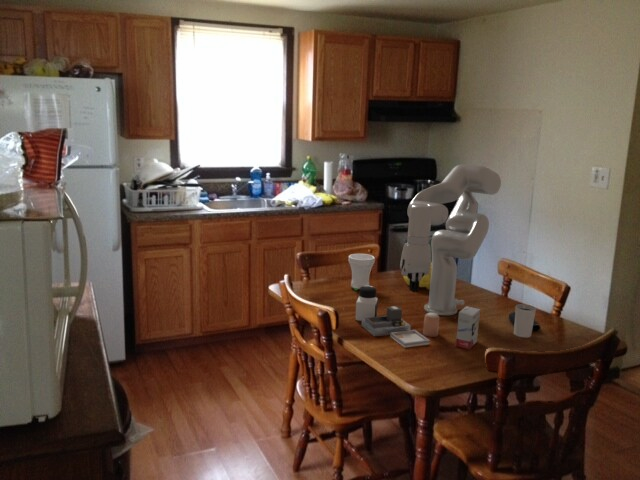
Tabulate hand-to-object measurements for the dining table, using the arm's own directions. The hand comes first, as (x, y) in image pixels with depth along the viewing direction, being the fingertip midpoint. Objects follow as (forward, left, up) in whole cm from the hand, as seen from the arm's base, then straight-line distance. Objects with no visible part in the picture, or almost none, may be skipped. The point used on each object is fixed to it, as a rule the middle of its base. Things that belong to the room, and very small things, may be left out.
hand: (413, 291), depth 204 cm
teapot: (-28, -40, -14) cm, 51 cm away
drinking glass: (-35, +18, -13) cm, 41 cm away
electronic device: (-42, +9, -14) cm, 45 cm away
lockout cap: (-3, +8, -13) cm, 16 cm away
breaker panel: (+10, 0, -13) cm, 17 cm away
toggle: (+7, 0, -10) cm, 13 cm away
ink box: (-10, +19, -14) cm, 25 cm away
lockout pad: (+7, +11, -13) cm, 19 cm away
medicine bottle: (+12, -12, -13) cm, 22 cm away
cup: (-1, -45, -13) cm, 47 cm away
